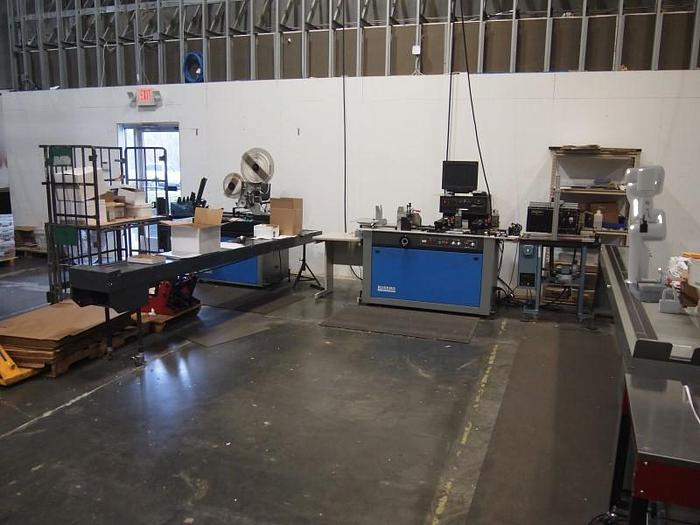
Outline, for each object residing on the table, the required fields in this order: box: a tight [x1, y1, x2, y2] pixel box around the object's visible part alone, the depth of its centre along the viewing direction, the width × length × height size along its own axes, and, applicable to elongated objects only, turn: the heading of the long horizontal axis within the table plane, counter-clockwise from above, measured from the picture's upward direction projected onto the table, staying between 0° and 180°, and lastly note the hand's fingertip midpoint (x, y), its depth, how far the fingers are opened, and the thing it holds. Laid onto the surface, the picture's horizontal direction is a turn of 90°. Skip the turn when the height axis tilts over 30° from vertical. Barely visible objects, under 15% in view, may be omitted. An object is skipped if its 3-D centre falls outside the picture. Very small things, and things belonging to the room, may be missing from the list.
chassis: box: [628, 278, 673, 303], centre depth 252 cm, size 26×13×7 cm, turn 162°
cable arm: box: [657, 267, 678, 285], centre depth 253 cm, size 27×3×10 cm, turn 161°
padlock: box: [658, 287, 681, 314], centre depth 222 cm, size 7×4×10 cm, turn 64°
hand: (643, 232), depth 258 cm, fingers closed
